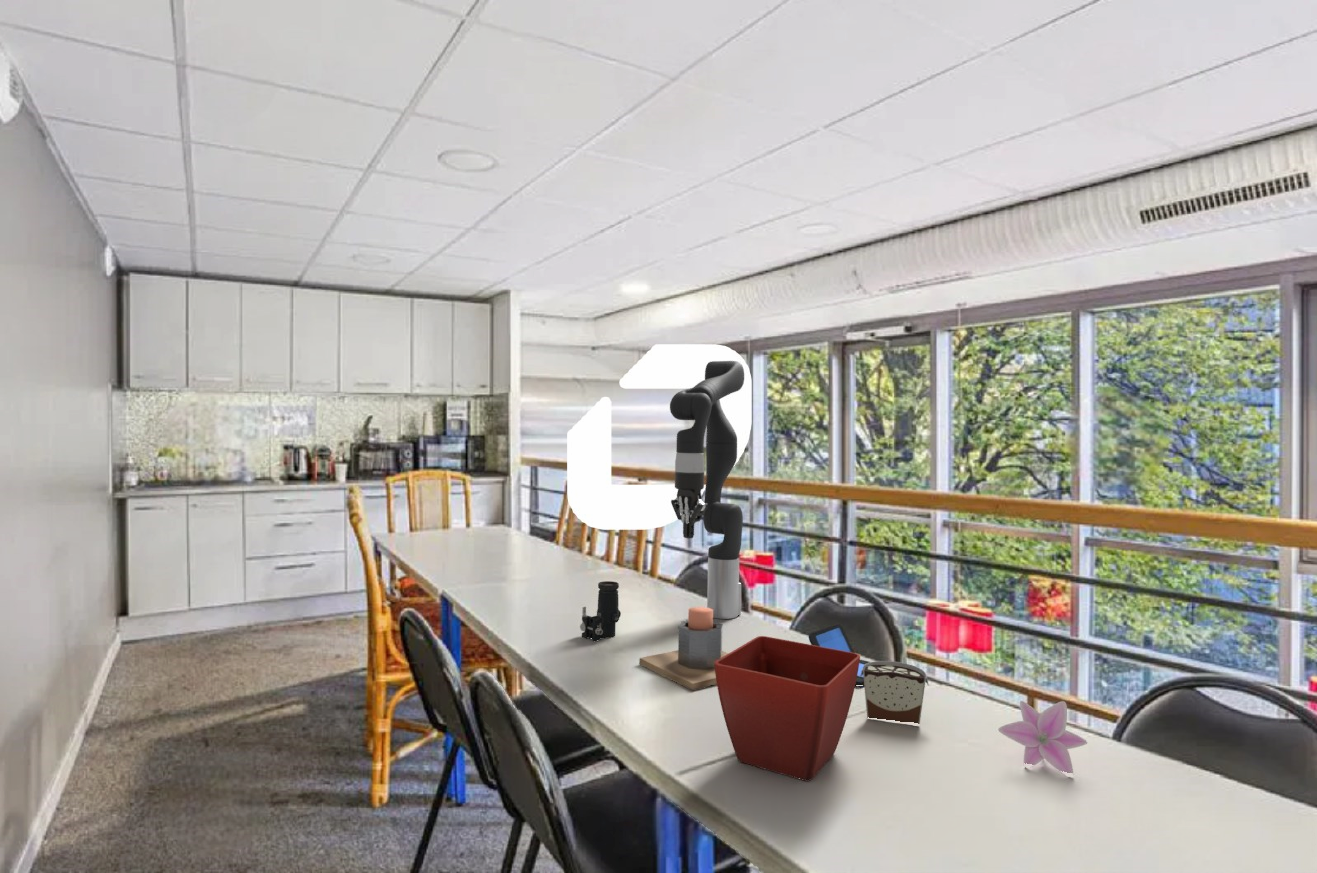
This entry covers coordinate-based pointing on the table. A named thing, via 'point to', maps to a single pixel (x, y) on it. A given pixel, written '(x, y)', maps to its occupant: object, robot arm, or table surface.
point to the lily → (1044, 736)
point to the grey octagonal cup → (699, 646)
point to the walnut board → (679, 670)
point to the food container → (894, 690)
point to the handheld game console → (836, 643)
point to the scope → (602, 613)
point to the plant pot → (786, 703)
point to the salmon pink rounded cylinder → (700, 618)
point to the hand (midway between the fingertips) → (688, 537)
